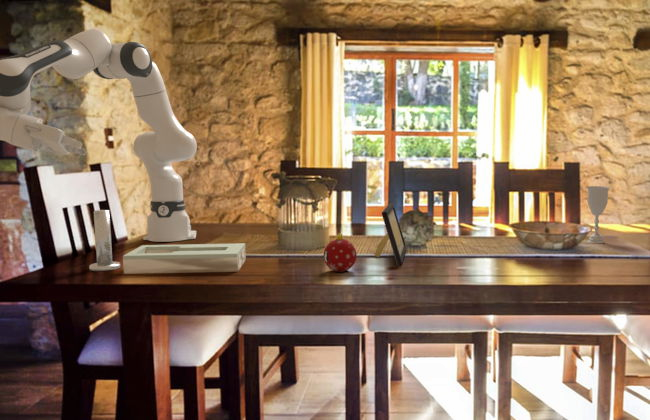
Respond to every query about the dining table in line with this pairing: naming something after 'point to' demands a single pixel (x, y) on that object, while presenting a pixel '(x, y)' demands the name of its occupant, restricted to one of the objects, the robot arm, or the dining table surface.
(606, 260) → the dining table surface
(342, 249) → the christmas ornament
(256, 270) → the dining table surface
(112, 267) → the keyhole peg
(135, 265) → the keyhole board
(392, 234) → the picture frame
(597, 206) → the chalice
